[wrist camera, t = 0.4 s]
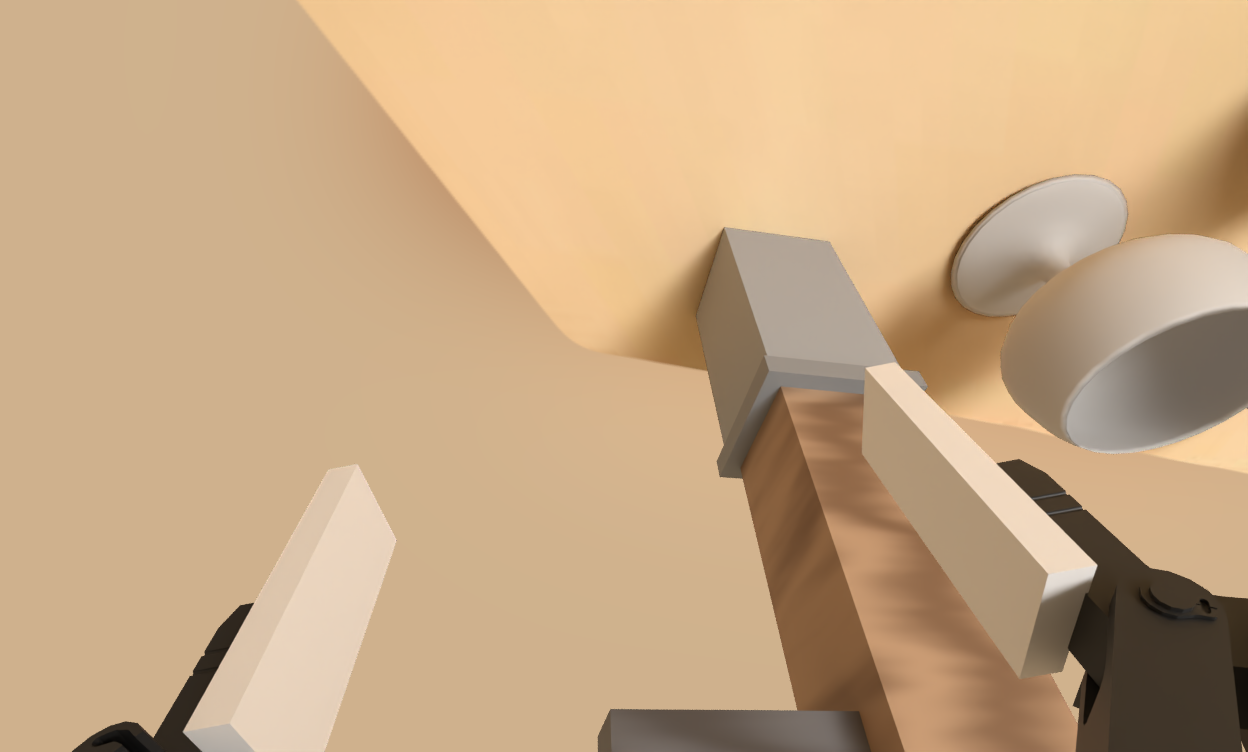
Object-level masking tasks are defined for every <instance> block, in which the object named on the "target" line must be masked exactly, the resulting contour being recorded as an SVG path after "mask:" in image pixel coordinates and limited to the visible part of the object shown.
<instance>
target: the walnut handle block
mask: <svg viewBox="0 0 1248 752" xmlns="http://www.w3.org/2000/svg"><path fill="white" fill-rule="evenodd" d="M863 410H864V394H855V393H845V392H834V391H824V390H813V389H803V388H792V387H782V386H781V387H780V389H779V391H778V393H777V395H776V397H775V399H774V401H773V403H772V405H771V407H770V409H769V411H768V413H767V415H766V417H765V419H764V421H763V423H762V425H761V427H760V429H759V431H758V433H757V435H756V437H755V439H754V441H753V443H752V445H751V447H750V449H749V452H748V454H747V456H746V458H745V460H744V462H743V464H742V466H741V468H740V469H741V473H742V477H743V482H744V485H745V490H746V494H747V498H748V503H749V506H750V511H751V515H752V520H753V524H754V528H755V532H756V537H757V541H758V545H759V549H760V554H761V558H762V562H763V566H764V570H765V575H766V579H767V583H768V587H769V591H770V596H771V600H772V604H773V609H774V613H775V617H776V621H777V625H778V629H779V634H780V638H781V642H782V647H783V651H784V655H785V659H786V664H787V668H788V672H789V676H790V680H791V684H792V689H793V693H794V697H795V702H796V705H797V710H798V711H778V710H777V711H773V710H767V711H766V710H638V709H636V710H635V709H633V710H632V709H630V710H629V709H611V710H610V711H609V713H608V715H607V718H606V720H605V722H604V724H603V726H602V729H601V731H600V733H599V735H598V752H1076V741H1077V730H1078V724H1077V722H1076V720H1075V718H1074V716H1073V715H1072V713H1071V711H1070V709H1069V707H1068V705H1067V703H1066V702H1065V700H1064V698H1063V696H1062V695H1061V692H1060V691H1059V689H1058V687H1057V685H1056V683H1055V681H1054V679H1053V677H1052V676H1051V674H1045V675H1040V676H1034V677H1029V678H1023V679H1019V678H1018V676H1017V675H1016V673H1015V672H1014V670H1013V669H1012V668H1011V666H1010V665H1009V663H1008V662H1007V660H1006V659H1005V658H1004V656H1003V655H1002V653H1001V652H1000V650H999V649H998V648H997V646H996V645H995V643H994V642H993V640H992V639H991V638H990V636H989V635H988V633H987V632H986V630H985V629H984V628H983V626H982V625H981V623H980V622H979V620H978V619H977V618H976V616H975V615H974V613H973V612H972V610H971V609H970V608H969V606H968V605H967V603H966V602H965V600H964V599H963V597H962V596H961V595H960V593H959V592H958V590H957V589H956V587H955V586H954V585H953V583H952V582H951V580H950V579H949V577H948V576H947V575H946V573H945V572H944V570H943V569H942V567H941V566H940V565H939V563H938V562H937V560H936V559H935V557H934V556H933V555H932V553H931V552H930V550H929V549H928V547H927V546H926V545H925V543H924V542H923V540H922V539H921V537H920V536H919V535H918V533H917V532H916V530H915V529H914V527H913V526H912V525H911V523H910V522H909V520H908V519H907V517H906V516H905V515H904V513H903V512H902V510H901V509H900V507H899V506H898V505H897V503H896V502H895V500H894V499H893V497H892V496H891V495H890V493H889V492H888V490H887V489H886V487H885V486H884V485H883V483H882V482H881V480H880V479H879V477H878V476H877V474H876V473H875V472H874V470H873V469H872V467H871V466H870V464H869V463H868V462H867V460H866V459H865V457H864V456H863V454H862V435H863Z"/></svg>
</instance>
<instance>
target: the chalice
mask: <svg viewBox="0 0 1248 752" xmlns="http://www.w3.org/2000/svg"><path fill="white" fill-rule="evenodd" d="M1127 218H1128V209H1127V201H1126V199H1125V197H1124V195H1123V193H1122V191H1121V189H1120V188H1118V187H1117V186H1116V185H1114V184H1113V183H1112V182H1111V181H1109V180H1107V179H1104V178H1100V177H1097V176H1094V175H1076V174H1074V175H1068V176H1062V177H1056V178H1052V179H1049V180H1046V181H1043V182H1040V183H1038V184H1035V185H1032V186H1030V187H1028V188H1026V189H1024V190H1022V191H1020V192H1018V193H1017V194H1015V195H1013V196H1011V197H1009V198H1008V199H1007V200H1005V201H1004V202H1002V203H1001V204H1000V205H998V206H997V207H995V208H994V209H993V210H991V211H990V212H989V213H988V214H987V215H986V216H985V217H984V218H983V219H982V220H981V221H980V222H979V223H978V224H977V225H976V226H975V227H974V228H973V229H972V231H971V232H970V233H969V235H968V236H967V237H966V239H965V240H964V241H963V243H962V245H961V247H960V249H959V251H958V253H957V254H956V256H955V259H954V263H953V266H952V270H951V287H952V290H953V293H954V295H955V298H956V299H957V300H958V301H959V303H960V304H961V305H962V306H963V307H964V308H966V309H968V310H970V311H972V312H973V313H976V314H980V315H985V316H993V317H1006V316H1012V315H1016V316H1015V318H1014V319H1013V321H1012V322H1011V324H1010V326H1009V329H1008V331H1007V334H1006V337H1005V339H1004V342H1003V346H1002V349H1001V374H1002V379H1003V382H1004V384H1005V386H1006V388H1007V390H1008V392H1009V394H1010V395H1011V397H1012V398H1013V400H1014V401H1015V403H1016V404H1017V405H1018V406H1019V407H1020V408H1021V409H1022V410H1023V411H1024V412H1025V413H1027V414H1028V415H1029V416H1030V417H1031V418H1033V419H1034V420H1035V421H1036V422H1037V423H1039V424H1040V425H1041V426H1042V427H1044V428H1045V429H1046V430H1047V431H1049V432H1050V433H1052V434H1053V435H1055V436H1057V437H1058V438H1060V439H1062V440H1064V441H1066V442H1068V443H1070V444H1073V445H1075V446H1078V447H1081V448H1084V449H1086V450H1090V451H1093V452H1098V453H1108V454H1117V453H1118V454H1119V453H1133V452H1139V451H1144V450H1150V449H1155V448H1158V447H1162V446H1165V445H1169V444H1172V443H1176V442H1179V441H1181V440H1184V439H1186V438H1189V437H1192V436H1194V435H1197V434H1199V433H1202V432H1204V431H1206V430H1208V429H1210V428H1212V427H1214V426H1216V425H1218V424H1220V423H1222V422H1224V421H1226V420H1227V419H1229V418H1231V417H1232V416H1234V415H1236V414H1237V413H1239V412H1241V411H1242V410H1244V409H1245V408H1247V407H1248V254H1247V253H1246V252H1244V251H1243V250H1241V249H1239V248H1238V247H1236V246H1234V245H1233V244H1231V243H1229V242H1226V241H1222V240H1218V239H1213V238H1209V237H1205V236H1200V235H1195V234H1165V235H1157V236H1151V237H1144V238H1137V239H1132V240H1129V241H1126V242H1123V243H1119V242H1120V240H1121V238H1122V236H1123V234H1124V232H1125V228H1126V223H1127Z"/></svg>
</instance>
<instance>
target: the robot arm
mask: <svg viewBox="0 0 1248 752" xmlns="http://www.w3.org/2000/svg"><path fill="white" fill-rule="evenodd" d="M862 454H863V456H864V457H865V459H866V460H867V462H868V463H869V464H870V466H871V467H872V469H873V470H874V472H875V473H876V474H877V476H878V477H879V479H880V480H881V482H882V483H883V485H884V486H885V487H886V489H887V490H888V492H889V493H890V495H891V496H892V497H893V499H894V500H895V502H896V503H897V505H898V506H899V507H900V509H901V510H902V512H903V513H904V515H905V516H906V517H907V519H908V520H909V522H910V523H911V525H912V526H913V527H914V529H915V530H916V532H917V533H918V535H919V536H920V537H921V539H922V540H923V542H924V543H925V545H926V546H927V547H928V549H929V550H930V552H931V553H932V555H933V556H934V557H935V559H936V560H937V562H938V563H939V565H940V566H941V567H942V569H943V570H944V572H945V573H946V575H947V576H948V577H949V579H950V580H951V582H952V583H953V585H954V586H955V587H956V589H957V590H958V592H959V593H960V595H961V596H962V597H963V599H964V600H965V602H966V603H967V605H968V606H969V608H970V609H971V610H972V612H973V613H974V615H975V616H976V618H977V619H978V620H979V622H980V623H981V625H982V626H983V628H984V629H985V630H986V632H987V633H988V635H989V636H990V638H991V639H992V640H993V642H994V643H995V645H996V646H997V648H998V649H999V650H1000V652H1001V653H1002V655H1003V656H1004V658H1005V659H1006V660H1007V662H1008V663H1009V665H1010V666H1011V668H1012V669H1013V670H1014V672H1015V673H1016V675H1017V676H1018V678H1019V679H1023V678H1029V677H1034V676H1040V675H1045V674H1051V673H1057V672H1062V670H1063V668H1064V664H1065V661H1066V658H1067V655H1068V652H1069V651H1070V652H1071V653H1072V654H1073V655H1074V657H1075V658H1076V659H1077V660H1078V661H1079V663H1080V664H1081V665H1082V666H1083V668H1084V669H1085V670H1086V671H1085V674H1084V676H1083V679H1082V682H1081V685H1080V688H1079V690H1078V693H1077V695H1076V698H1075V701H1074V704H1073V706H1074V707H1077V708H1079V719H1078V730H1077V741H1076V752H1242V744H1243V746H1244V748H1245V750H1246V752H1248V599H1246V598H1234V597H1222V596H1216V595H1212V594H1211V593H1210V592H1209V591H1207V590H1206V589H1204V588H1203V587H1201V586H1200V585H1198V584H1196V583H1195V582H1193V581H1192V580H1190V579H1187V578H1185V577H1182V576H1180V575H1177V574H1174V573H1172V572H1169V571H1163V570H1157V569H1152V568H1149V567H1148V566H1147V565H1145V564H1144V563H1143V562H1142V561H1141V560H1140V559H1139V558H1138V557H1137V556H1136V555H1135V554H1133V553H1132V552H1131V551H1130V550H1129V549H1128V548H1127V547H1126V546H1125V545H1124V544H1122V543H1121V542H1120V541H1119V540H1118V539H1117V538H1116V537H1115V536H1114V535H1113V534H1112V533H1111V532H1110V531H1108V530H1107V529H1106V528H1105V527H1104V526H1103V525H1102V524H1101V523H1100V522H1099V521H1098V520H1096V519H1095V518H1094V517H1093V516H1092V515H1091V514H1090V513H1089V512H1088V511H1087V510H1083V509H1082V506H1081V505H1080V504H1079V503H1078V502H1077V501H1076V500H1075V499H1074V498H1072V497H1071V496H1070V495H1067V494H1066V492H1065V490H1064V489H1063V488H1061V487H1060V486H1059V485H1058V484H1057V483H1056V482H1055V481H1054V480H1053V479H1052V478H1051V477H1049V476H1048V475H1047V474H1046V473H1045V472H1043V471H1041V470H1039V469H1037V468H1035V467H1033V466H1031V465H1029V464H1027V463H1025V462H1024V461H1022V460H1020V459H1018V460H1012V461H1006V462H1002V463H995V462H994V461H993V460H992V459H991V458H990V457H989V456H988V455H987V454H986V453H985V452H984V451H983V450H982V449H981V448H980V447H979V446H978V445H977V444H976V443H975V442H974V441H973V440H972V439H971V438H970V437H969V436H968V435H967V434H966V433H965V432H964V431H963V430H962V429H961V428H960V427H959V426H958V425H957V424H956V423H955V422H954V421H953V420H952V419H951V418H950V417H949V416H948V415H947V414H946V413H945V412H944V411H943V410H942V409H941V408H940V407H939V406H938V405H937V404H936V403H935V402H934V401H933V400H932V399H931V398H930V397H929V396H928V395H927V394H926V393H925V392H924V391H923V390H922V389H921V388H920V387H919V386H918V385H917V384H916V383H915V382H914V381H913V380H912V379H911V378H910V377H909V375H908V374H907V373H906V372H905V371H904V370H903V369H902V368H901V367H900V366H899V365H898V364H897V363H896V362H893V363H888V364H883V365H877V366H872V367H867V368H865V384H864V410H863V435H862ZM396 541H397V540H396V538H395V536H394V535H393V532H392V531H391V529H390V527H389V525H388V523H387V521H386V519H385V517H384V515H383V513H382V511H381V509H380V507H379V505H378V503H377V502H376V499H375V497H374V495H373V493H372V491H371V489H370V488H369V485H368V483H367V482H366V480H365V478H364V476H363V474H362V472H361V470H360V468H359V466H358V464H355V465H349V466H344V467H339V468H334V469H329V470H328V471H327V473H326V475H325V477H324V478H323V480H322V482H321V484H320V486H319V487H318V489H317V491H316V493H315V495H314V496H313V498H312V500H311V502H310V504H309V505H308V507H307V509H306V511H305V513H304V515H303V517H302V518H301V520H300V522H299V523H298V525H297V527H296V529H295V531H294V533H293V534H292V536H291V538H290V540H289V542H288V543H287V545H286V547H285V549H284V550H283V552H282V554H281V556H280V558H279V560H278V562H277V563H276V565H275V567H274V569H273V570H272V572H271V574H270V576H269V578H268V579H267V581H266V583H265V585H264V587H263V588H262V590H261V592H260V594H259V596H258V597H257V599H256V601H255V603H251V604H245V605H240V606H239V607H238V608H237V609H236V610H235V611H234V612H233V614H231V616H229V618H228V619H227V620H226V621H225V622H224V623H223V624H222V625H221V626H220V627H219V628H218V630H217V631H216V633H215V635H214V636H213V638H212V640H211V641H210V643H209V645H208V647H207V648H206V650H205V655H204V656H202V657H201V658H200V660H199V662H198V663H197V665H196V667H195V668H194V670H193V676H190V677H189V679H188V680H187V682H186V684H185V686H184V687H183V689H182V690H181V692H180V694H179V696H178V697H177V699H176V701H175V702H174V704H173V706H172V708H171V709H170V711H169V713H168V714H167V716H166V718H165V719H164V721H163V723H162V725H161V726H160V728H159V729H158V731H157V733H156V734H155V736H154V738H153V737H151V736H150V735H149V734H148V733H147V732H146V731H145V730H144V729H143V728H142V727H141V726H140V725H139V724H138V723H132V722H122V723H119V724H115V725H111V726H109V727H107V728H105V729H103V730H102V731H100V732H98V733H96V734H94V735H92V736H91V737H89V738H88V739H87V740H86V741H85V742H83V743H82V744H81V745H79V746H78V747H77V748H76V749H74V750H73V751H72V752H324V751H325V748H326V745H327V742H328V740H329V737H330V734H331V731H332V728H333V725H334V722H335V719H336V716H337V713H338V710H339V707H340V705H341V702H342V699H343V695H344V693H345V690H346V687H347V684H348V681H349V678H350V675H351V672H352V669H353V666H354V663H355V661H356V658H357V655H358V652H359V649H360V646H361V643H362V640H363V637H364V634H365V631H366V628H367V626H368V622H369V620H370V617H371V614H372V611H373V607H374V605H375V602H376V599H377V596H378V593H379V590H380V587H381V584H382V582H383V579H384V576H385V573H386V570H387V567H388V564H389V561H390V558H391V555H392V552H393V549H394V546H395V544H396ZM1241 741H1242V744H1241Z"/></svg>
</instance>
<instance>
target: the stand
mask: <svg viewBox="0 0 1248 752" xmlns="http://www.w3.org/2000/svg"><path fill="white" fill-rule="evenodd" d="M696 320H697V324H698V329H699V333H700V338H701V342H702V347H703V352H704V356H705V361H706V365H707V370H708V374H709V379H710V384H711V388H712V393H713V397H714V402H715V406H716V411H717V415H718V420H719V424H720V429H721V433H722V438H723V443H724V446H723V449H722V451H721V453H720V455H719V458H718V460H717V465H718V470H719V475H720V477H728V478H742V479H743V477H742V473H741V469H740V468H741V466H742V464H743V462H744V460H745V458H746V456H747V454H748V452H749V449H750V447H751V445H752V443H753V441H754V439H755V437H756V435H757V433H758V431H759V429H760V427H761V425H762V423H763V421H764V419H765V417H766V415H767V413H768V411H769V409H770V407H771V405H772V403H773V401H774V399H775V397H776V395H777V393H778V391H779V389H780V387H781V386H782V387H792V388H803V389H813V390H824V391H834V392H845V393H855V394H864V384H865V368H867V367H872V366H877V365H883V364H888V363H893V362H896V363H897V364H898V362H897V360H896V358H895V357H894V355H893V353H892V351H891V349H890V348H889V346H888V344H887V342H886V341H885V339H884V337H883V335H882V334H881V332H880V330H879V328H878V327H877V325H876V323H875V321H874V319H873V318H872V316H871V314H870V312H869V311H868V309H867V307H866V305H865V304H864V302H863V300H862V298H861V297H860V295H859V293H858V291H857V289H856V288H855V286H854V284H853V282H852V281H851V279H850V277H849V275H848V274H847V272H846V270H845V268H844V267H843V265H842V263H841V261H840V259H839V258H838V256H837V254H836V252H835V251H834V249H833V247H832V245H831V244H830V242H827V241H820V240H813V239H805V238H798V237H791V236H783V235H776V234H769V233H761V232H754V231H747V230H740V229H732V228H725V227H724V230H723V233H722V236H721V240H720V243H719V246H718V249H717V252H716V255H715V258H714V261H713V264H712V267H711V271H710V274H709V277H708V280H707V283H706V286H705V289H704V292H703V295H702V298H701V302H700V305H699V308H698V311H697V314H696ZM898 365H899V364H898ZM899 366H900V365H899ZM904 371H905V372H906V373H907V374H908V375H909V377H910V378H911V379H912V380H913V381H914V382H915V383H916V384H917V385H918V386H919V387H920V388H921V389H922V390H923V391H925V390H926V389H927V387H928V386H927V384H926V383H925V381H924V379H923V378H922V376H921V374H920V372H919V371H910V370H904Z"/></svg>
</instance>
